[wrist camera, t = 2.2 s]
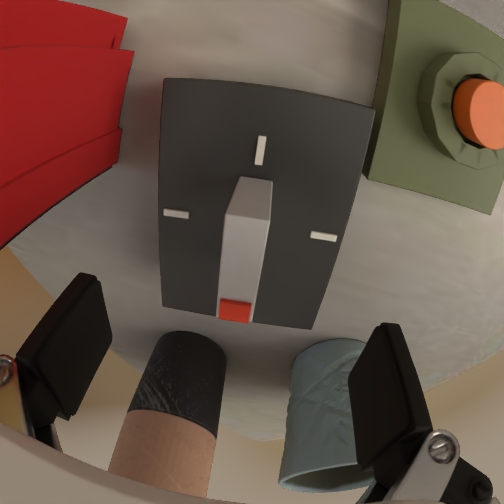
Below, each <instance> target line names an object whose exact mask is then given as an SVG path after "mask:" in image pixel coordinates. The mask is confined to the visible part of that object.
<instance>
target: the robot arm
mask: <svg viewBox="0 0 504 504" xmlns="http://www.w3.org/2000/svg"><path fill="white" fill-rule="evenodd" d="M111 342H112V331H111V327H110V323H109V319H108V315H107V310H106V306H105V302H104V297H103V292H102V287H101V283H100V281H98V280H97V277H96V276H94V275H91V274H86V273H82V272H81V273H79V274H78V275H77V276H76V277H75V278H74V279H73V280H72V282H71V283H70V284H69V285H68V286H67V288H66V289H65V290H64V291H63V292H62V294H61V295H60V296H59V297H58V299H57V300H56V301H55V302H54V304H53V305H52V306H51V307H50V309H49V310H48V311H47V313H46V314H45V315H44V317H43V318H42V319H41V321H40V322H39V323H38V325H37V326H36V327H35V328H34V330H33V331H32V333H31V334H30V335H29V337H28V338H27V339H26V341H25V342H24V344H23V345H22V347H21V348H20V349H19V351H18V352H17V354H16V358H15V359H13V358H12V357H10V356H8V355H4V354H3V355H0V504H245V503H236V502H227V501H221V500H214V499H208V498H203V497H197V496H192V495H187V494H183V493H178V492H174V491H170V490H166V489H162V488H158V487H154V486H151V485H147V484H144V483H140V482H137V481H134V480H131V479H128V478H125V477H122V476H119V475H116V474H113V473H110V472H107V471H105V470H102V469H99V468H97V467H94V466H92V465H90V464H87V463H85V462H82V461H80V460H78V459H76V458H73V457H71V456H69V455H67V454H64V453H63V451H62V448H61V445H60V442H59V439H58V435H57V432H56V428H55V425H54V421H55V418H56V416H58V417H60V418H62V419H65V420H67V421H69V419H70V417H71V415H72V416H73V415H75V414H76V412H77V410H78V408H79V406H80V404H81V402H82V400H83V397H84V396H85V393H86V391H87V389H88V387H89V385H90V383H91V381H92V379H93V377H94V375H95V373H96V371H97V369H98V367H99V365H100V364H101V362H102V359H103V358H104V356H105V354H106V352H107V350H108V348H109V346H110V345H111ZM348 389H349V396H350V404H351V412H352V420H353V429H354V438H355V448H356V459H357V463H358V465H361V470H362V472H367V471H374V480H373V482H372V483H371V485H370V486H369V487H368V489H367V490H366V491H365V493H364V494H363V495H362V496H361V498H360V499H359V500H358V501H357V503H356V504H500V502H499V501H498V500H497V498H496V497H493V498H492V493H493V487H492V483H491V481H490V479H489V478H488V477H487V476H486V475H484V474H483V473H482V472H480V471H479V470H477V469H476V468H474V467H473V466H472V465H470V464H469V463H467V462H466V461H465V460H463V459H462V458H461V457H459V455H460V446H459V443H458V440H457V439H456V437H455V436H454V435H453V434H452V433H451V432H449V431H447V430H443V429H438V430H434V431H433V427H432V423H431V419H430V416H429V412H428V409H427V405H426V401H425V398H424V394H423V391H422V388H421V385H420V381H419V378H418V375H417V372H416V369H415V366H414V364H413V361H412V358H411V355H410V352H409V349H408V347H407V344H406V341H405V338H404V335H403V333H402V330H401V327H400V325H399V324H395V323H381V325H380V326H377V327H376V328H375V329H374V331H373V333H372V335H371V336H370V338H369V340H368V342H367V344H366V346H365V347H364V349H363V351H362V353H361V355H360V356H359V358H358V360H357V361H356V363H355V365H354V367H353V368H352V370H351V372H350V373H349V376H348Z"/></svg>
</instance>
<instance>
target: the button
mask: <svg viewBox="0 0 504 504" xmlns="http://www.w3.org/2000/svg"><path fill="white" fill-rule="evenodd" d="M452 108H453V116H454V120H455V122H456V125H457V127H458V128H459V130H460V131H461V133H462V134H463V135H464V136H465V137H466V138H468V139H469V140H471V141H473V142H476V143H478V144H480V145H482V146H484V147H486V148H489V149H493V150H497V149H501V148H503V147H504V86H502V85H501V84H499V83H498V82H495V81H490V80H482V79H467V80H465V81H463V82H462V83H461V84H460V85H459V86H458V88H457V89H456V91H455V94H454V97H453V105H452Z"/></svg>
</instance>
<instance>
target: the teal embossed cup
mask: <svg viewBox="0 0 504 504" xmlns="http://www.w3.org/2000/svg"><path fill="white" fill-rule="evenodd" d="M365 346H366V344H365V343H363V342H360V341H357V340H352V339H333V340H328V341H324V342H320V343H318V344H315V345H313V346H311V347H309V348H307V349H305V350H304V351H303V352H302V353H300V354H299V355H298V356H297V358H296V359H295V361H294V363H293V365H292V367H291V376H290V388H289V390H290V393H291V397H290V398H289V404H288V408H287V413H288V415H287V420H286V436H285V437H286V439H285V446H284V452H283V457H282V463H281V468H280V474H279V480H278V481H279V485H280V486H281V487H283V488H285V489H288V490H292V491H298V492H310V493H311V492H312V493H326V492H339V491H347V490H352V489H357V488H362V487H366V486H370V485H371V483H372V482H373V480H374V471H367V472H362V470H361V465H358V463H357V459H356V448H355V438H354V429H353V420H352V412H351V404H350V396H349V389H348V376H349V373H350V372H351V370H352V368H353V367H354V365H355V363H356V361H357V360H358V358H359V356H360V355H361V353H362V351H363V349H364V347H365Z"/></svg>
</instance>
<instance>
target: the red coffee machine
mask: <svg viewBox="0 0 504 504" xmlns="http://www.w3.org/2000/svg"><path fill="white" fill-rule="evenodd" d="M127 20H128V18H125V17H122V16H119V15H116V14H112V13H109V12H105V11H102V10H98V9H94V8H90V7H86V6H82V5H78V4H73V3H69V2H64V1H59V0H0V250H1V249H2V248H3V247H5V246H6V245H7V244H8V243H9V242H10V241H12V240H13V239H14V238H15V237H16V236H17V235H19V234H20V233H21V232H22V231H23V230H25V229H26V228H27V227H28V226H30V225H31V224H32V223H33V222H35V221H36V220H37V219H38V218H40V217H41V216H42V215H44V214H45V213H46V212H48V211H49V210H50V209H51V208H53V207H54V206H56V205H57V204H58V203H60V202H61V201H62V200H64V199H65V198H67V197H68V196H69V195H71V194H72V193H74V192H75V191H77V190H78V189H79V188H81V187H82V186H84V185H85V184H87V183H88V182H90V181H91V180H93V179H94V178H96V177H97V176H99V175H101V174H102V173H104V172H105V171H107V170H108V169H110V168H112V165H114V164H116V163H117V161H118V153H119V146H120V139H121V133H122V129H118V123H119V117H120V112H121V107H122V102H123V97H124V92H125V88H126V83H127V79H128V75H129V70H130V66H131V62H132V59H133V55H134V51H128V50H120V49H119V47H120V44H121V40H122V36H123V33H124V30H125V26H126V23H127Z"/></svg>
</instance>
